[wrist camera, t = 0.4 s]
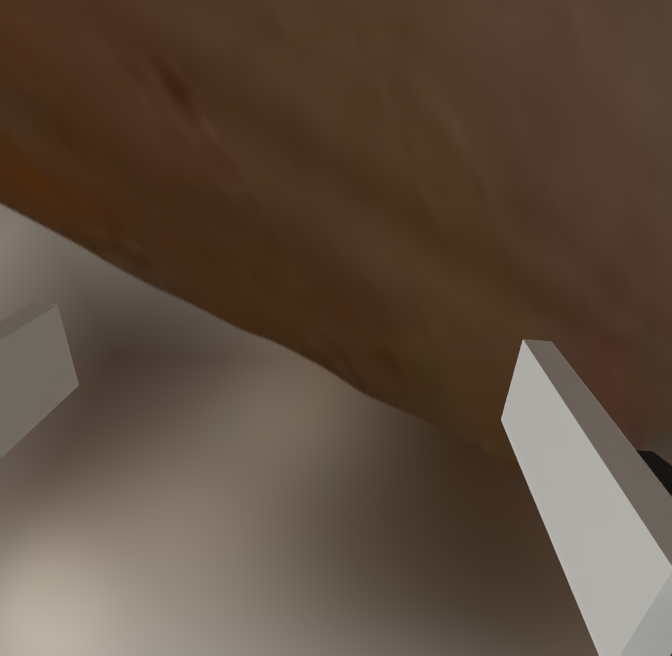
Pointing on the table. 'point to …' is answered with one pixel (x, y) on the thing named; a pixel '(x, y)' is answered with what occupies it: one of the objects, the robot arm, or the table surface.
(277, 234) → the table surface
